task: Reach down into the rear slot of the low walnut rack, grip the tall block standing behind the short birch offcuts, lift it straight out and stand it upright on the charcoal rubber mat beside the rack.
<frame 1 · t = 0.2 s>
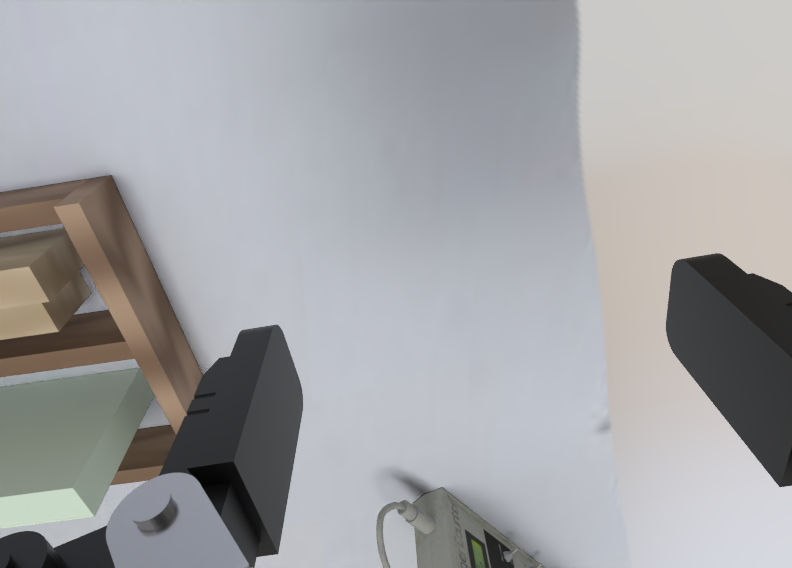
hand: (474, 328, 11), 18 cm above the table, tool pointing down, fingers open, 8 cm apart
tall block: (59, 392, 35), resting in storage rack
geiger counter: (472, 533, 45), on the table
storage rack: (25, 344, 32), on the table
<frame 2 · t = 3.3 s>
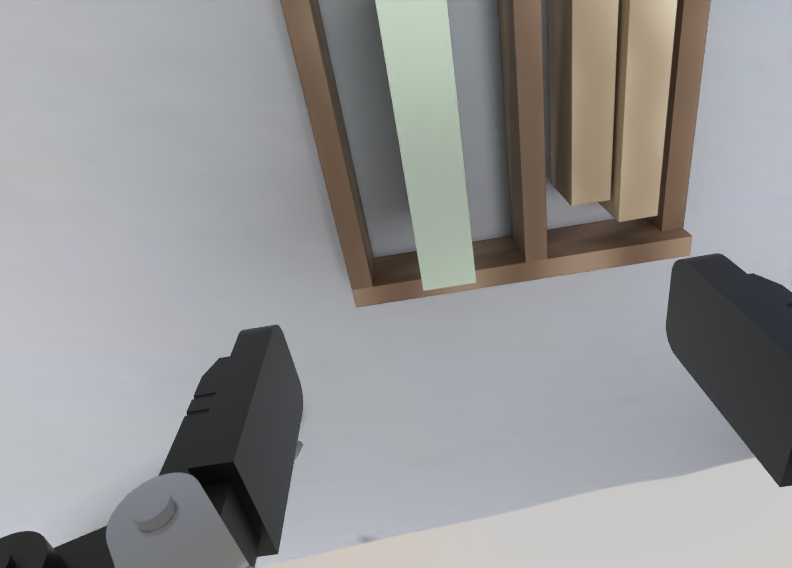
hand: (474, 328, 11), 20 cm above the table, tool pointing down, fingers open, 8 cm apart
offcut stack: (588, 77, 28), resting in storage rack
tall block: (418, 108, 28), resting in storage rack
storage rack: (496, 94, 28), on the table
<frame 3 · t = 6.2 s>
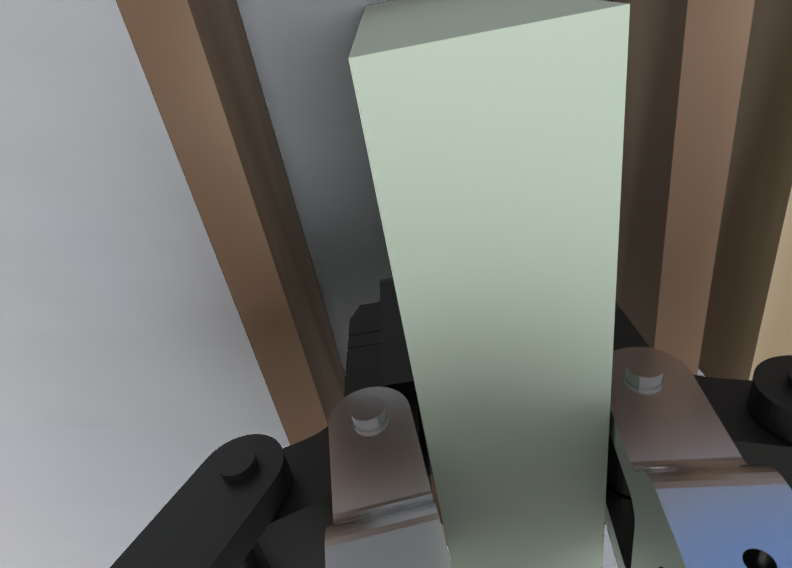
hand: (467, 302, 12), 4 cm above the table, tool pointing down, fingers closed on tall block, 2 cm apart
offcut stack: (764, 169, 15), resting in storage rack
tall block: (447, 227, 15), resting in storage rack, touching gripper
storage rack: (591, 202, 15), on the table
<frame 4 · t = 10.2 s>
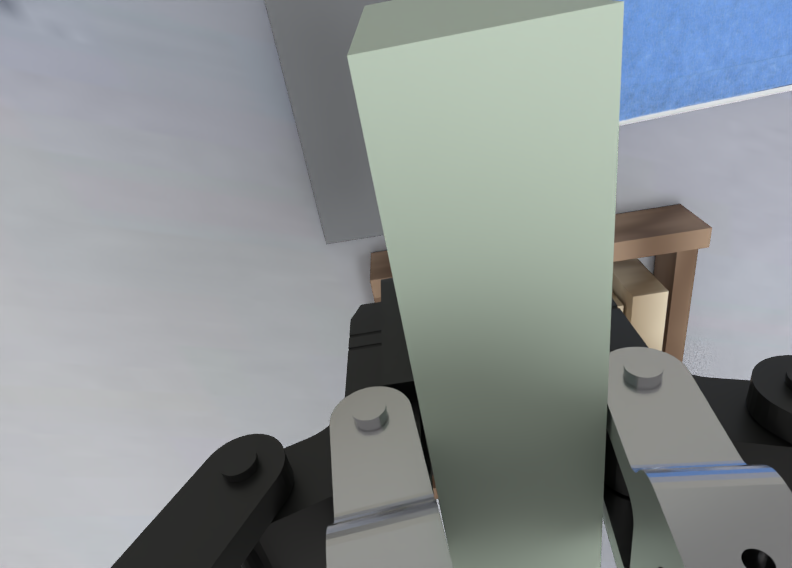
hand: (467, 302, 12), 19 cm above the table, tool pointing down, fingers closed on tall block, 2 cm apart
offcut stack: (598, 341, 37), resting in storage rack
tall block: (446, 226, 15), point 15 cm above the table, touching gripper
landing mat: (424, 104, 28), on the table
storage rack: (528, 353, 37), on the table
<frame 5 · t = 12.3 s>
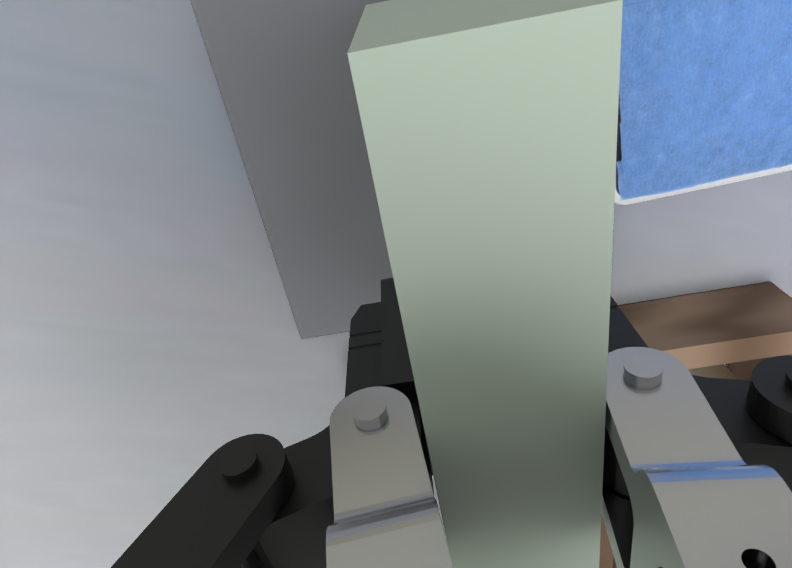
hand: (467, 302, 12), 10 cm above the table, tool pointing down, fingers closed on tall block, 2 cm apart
offcut stack: (651, 441, 29), resting in storage rack
tall block: (447, 225, 15), point 6 cm above the table, touching gripper
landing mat: (430, 161, 21), on the table
storage rack: (563, 457, 29), on the table
when the fingers open (5 cm above the table, at t = 14.1 s): tall block drops 2 cm, resting on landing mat.
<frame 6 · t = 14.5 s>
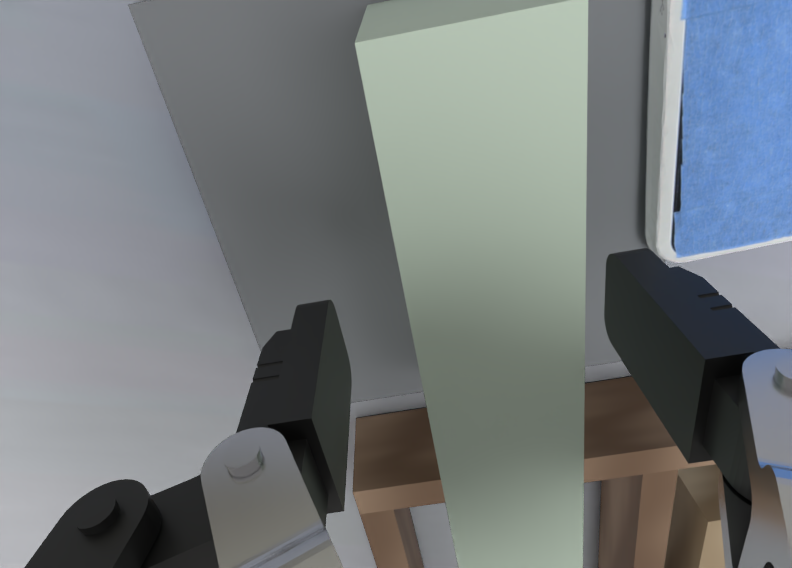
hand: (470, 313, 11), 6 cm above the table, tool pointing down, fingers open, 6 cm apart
offcut stack: (693, 515, 25), resting in storage rack
tall block: (444, 214, 16), resting on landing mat
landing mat: (440, 208, 17), on the table
storage rack: (591, 533, 25), on the table
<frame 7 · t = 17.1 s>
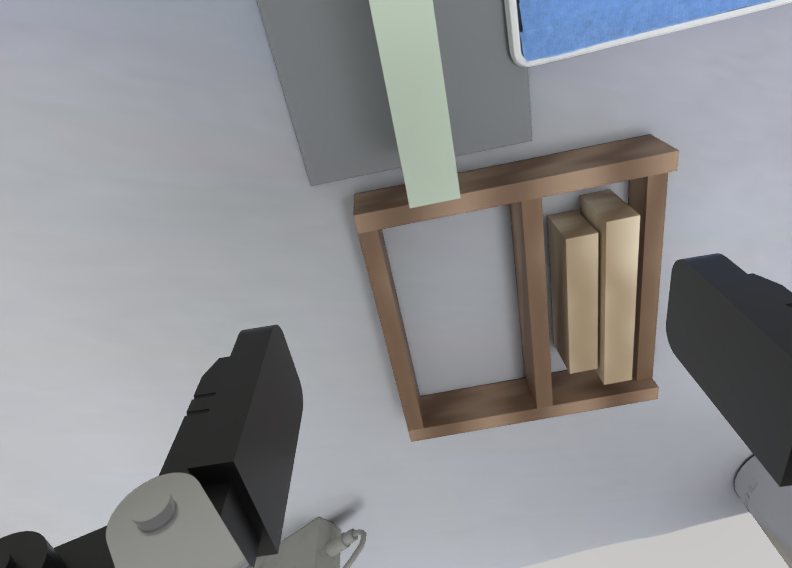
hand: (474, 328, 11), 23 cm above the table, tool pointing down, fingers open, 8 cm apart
offcut stack: (578, 277, 38), resting in storage rack
tall block: (400, 42, 29), resting on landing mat
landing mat: (398, 41, 29), on the table
geiger counter: (277, 551, 53), on the table
storage rack: (512, 291, 38), on the table
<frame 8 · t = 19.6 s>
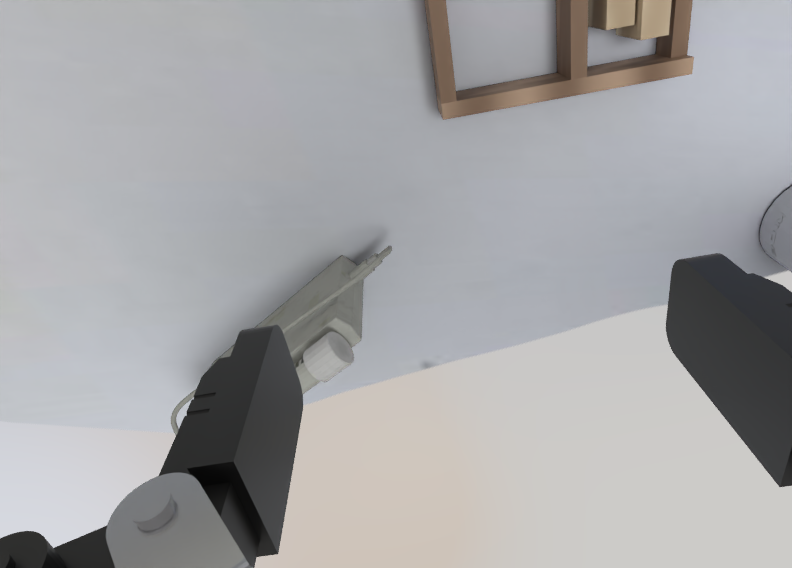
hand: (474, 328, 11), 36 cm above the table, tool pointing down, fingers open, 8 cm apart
geiger counter: (298, 302, 53), on the table
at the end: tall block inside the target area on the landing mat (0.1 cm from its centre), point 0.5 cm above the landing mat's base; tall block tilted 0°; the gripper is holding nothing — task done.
